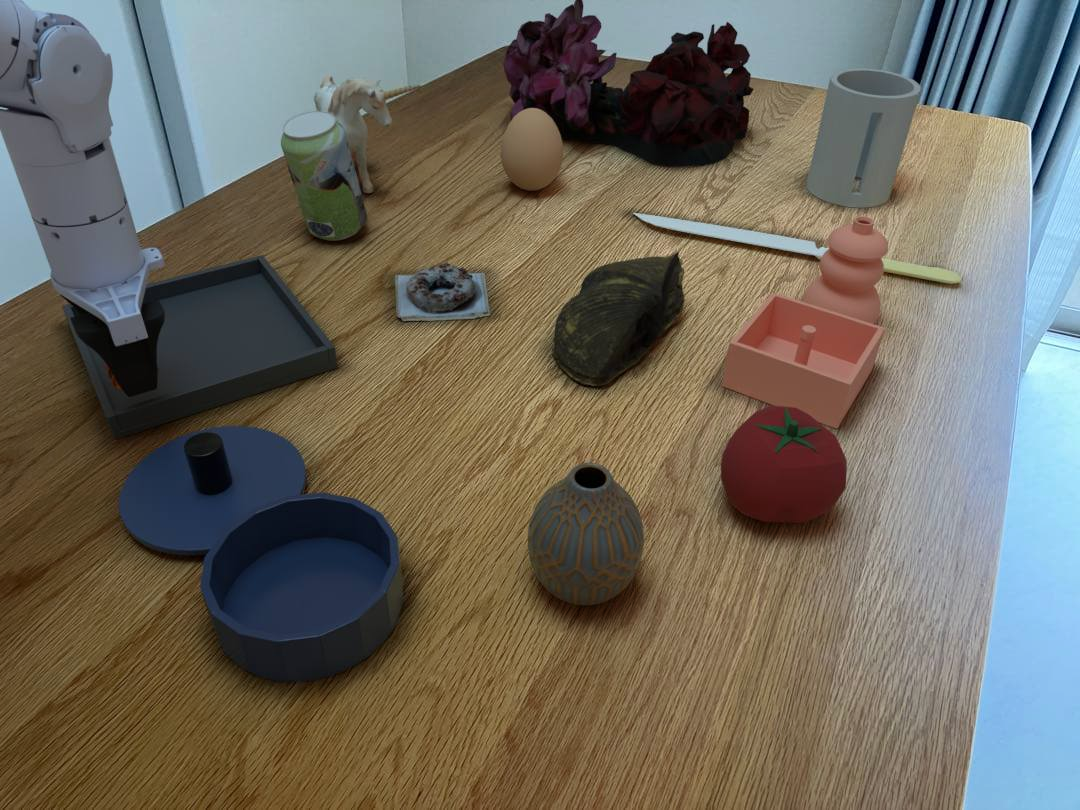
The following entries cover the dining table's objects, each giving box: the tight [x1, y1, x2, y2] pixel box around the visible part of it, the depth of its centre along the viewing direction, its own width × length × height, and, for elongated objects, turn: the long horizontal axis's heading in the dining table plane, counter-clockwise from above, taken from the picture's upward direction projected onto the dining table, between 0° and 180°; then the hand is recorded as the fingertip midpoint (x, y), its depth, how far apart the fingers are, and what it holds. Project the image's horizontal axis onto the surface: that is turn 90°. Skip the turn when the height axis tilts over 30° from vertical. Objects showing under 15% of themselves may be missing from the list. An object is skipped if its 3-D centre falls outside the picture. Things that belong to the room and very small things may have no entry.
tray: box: [61, 254, 338, 440], centre depth 73 cm, size 17×17×2 cm
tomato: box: [720, 405, 848, 524], centre depth 59 cm, size 8×8×7 cm
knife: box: [632, 212, 963, 285], centre depth 89 cm, size 1×33×5 cm
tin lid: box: [118, 425, 307, 556], centre depth 59 cm, size 12×12×5 cm
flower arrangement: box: [502, 0, 755, 168], centre depth 107 cm, size 31×20×15 cm, turn 76°
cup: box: [805, 67, 922, 209], centre depth 97 cm, size 9×9×12 cm
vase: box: [527, 462, 645, 606], centre depth 52 cm, size 7×7×9 cm
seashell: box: [551, 251, 685, 387], centre depth 75 cm, size 16×9×7 cm, turn 149°
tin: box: [199, 492, 405, 683], centre depth 52 cm, size 11×11×4 cm
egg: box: [500, 108, 564, 192], centre depth 96 cm, size 7×7×9 cm
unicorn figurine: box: [313, 75, 423, 194], centre depth 94 cm, size 7×20×13 cm, turn 37°
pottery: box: [721, 215, 889, 430], centre depth 72 cm, size 18×10×10 cm, turn 147°
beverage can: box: [280, 110, 368, 242], centre depth 86 cm, size 6×7×12 cm
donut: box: [394, 261, 491, 322], centre depth 80 cm, size 8×8×2 cm
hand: (134, 376), depth 66 cm, fingers closed on meatball, 3 cm apart
